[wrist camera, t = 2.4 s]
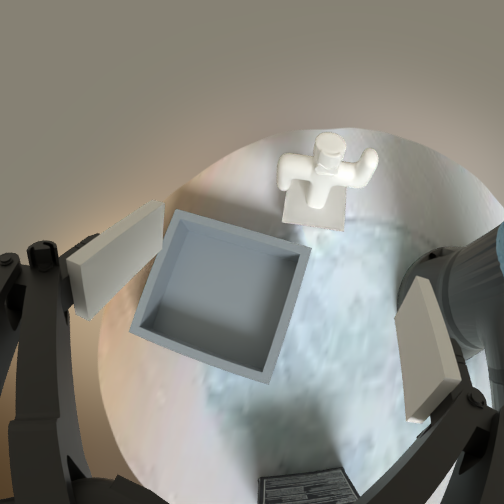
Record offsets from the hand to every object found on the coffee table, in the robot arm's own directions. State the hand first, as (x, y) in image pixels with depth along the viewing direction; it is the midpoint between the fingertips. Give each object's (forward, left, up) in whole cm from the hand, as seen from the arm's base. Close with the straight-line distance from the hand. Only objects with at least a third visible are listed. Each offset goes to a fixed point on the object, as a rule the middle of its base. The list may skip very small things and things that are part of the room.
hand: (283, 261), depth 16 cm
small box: (-11, +22, -23) cm, 33 cm away
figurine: (-1, -13, -23) cm, 27 cm away
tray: (+6, +1, -23) cm, 24 cm away
